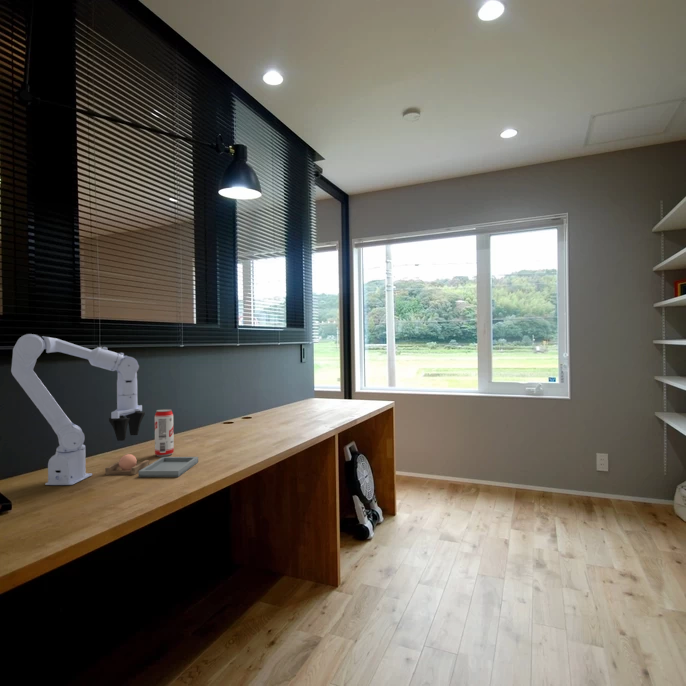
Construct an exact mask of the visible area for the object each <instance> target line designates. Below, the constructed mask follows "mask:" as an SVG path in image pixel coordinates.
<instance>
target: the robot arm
mask: <svg viewBox="0 0 686 686" xmlns="http://www.w3.org/2000/svg"><path fill="white" fill-rule="evenodd" d="M44 350H45V353H47V354H50V353H62V354H66V355H70V356H74V357H77V358H81V359H85V360H88V362H89V364H90V365H91V366H93V367H96V368H101V369H102V370H103V369H104V370H107V371H111V372H117V379H116V403H117V404H116V409H115V410H113V411H111V417H109V418H108V423H109V424H110V425H111V427H112V428H113V430H114V435H115V438H116V440H117V441H118V442H119V441H120V442H121V441H122V442H124V441H125V440H126V438H127V428H128V430H129V435H130V436H138V434H139V432H140V428H141V424H142V420H143V418H144V417H145V415H146V412H145V411H143V405H142V404H140V405H139V403H138V373H137V372H138V371H139V370H140V365H139V362H138V360H137V359H136V358H135V357H133V356H128V355H125V353H124V352H115V351H112V350H108V347H106V346H103V347H100V346H99V347H96V348H94V349H90V348H87V347H83V346H81V345H78V344H74V343H72V342H68V341H66V340H62V339H60V338H56V337H50V336H44V335H43V336H40V335H38V334H34V333H33V334H32V333H26V334H24V335H21V337H19V338H18V339H17V341H16V343H15V345H14V346H13V348H12V358H11V369H10V372H11V374H12V376H13V377H14V379H15V380H16V382H17V383H18V384H19V386H20V387H21V388H22V389H23V391H24V392H25V394H26V395H27V396H28V398H30V400H31V401H32V403H33V404H34V405H35V406H36V409H38V410H39V412H40V413H41V415H42V416H43V417H44V418H45V419H46V421H47V423H48V424H49V425H50V427H51V428H52V430H53V431H54V433H55V434H56V436H57V439H58V444H59V445H58V446H57V447H56V451H55V454H54V455H52V456H50V458H49V459H48V463H47V481H46V482H45V483H44V484H45V485H46V486H73V485H76V484H77V483H79V482H81V481H83V480H85V479H87V478H89V477H91V476H93V473H92V472H91V473H88V472H86V467H87V466H86V465H87V464H86V445H85V444H84V442H85V438H86V437H85V433H84V432H83V430H82V428H81V427H80V426H79V425H77V424H75V423H74V422H72V421H71V419H70V418H69V417H68V416H67V414H66V413H65V412H64V410H63V409H62V408H61V406H60V405H59V404H58V402H57V401H56V399H55V397H54V396H53V395H52V394H51V393H50V391H49V390H48V388H47V387H46V385H44V382H42V380H41V379H40V378H39V377H38V375H37V373H36V372H35V371H34V368H35V365H36V363H37V359H38V358H39V357H40V356H41V354H42V353H43V352H44Z"/></svg>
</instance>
